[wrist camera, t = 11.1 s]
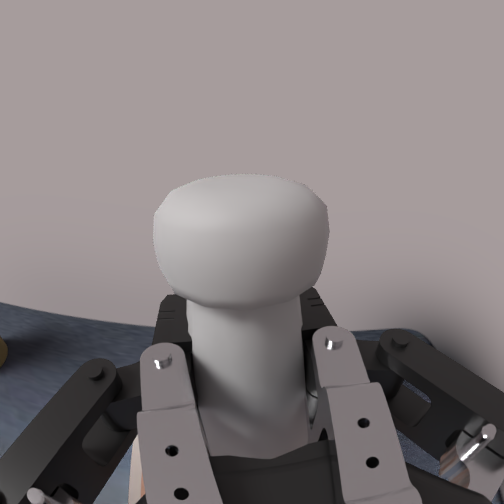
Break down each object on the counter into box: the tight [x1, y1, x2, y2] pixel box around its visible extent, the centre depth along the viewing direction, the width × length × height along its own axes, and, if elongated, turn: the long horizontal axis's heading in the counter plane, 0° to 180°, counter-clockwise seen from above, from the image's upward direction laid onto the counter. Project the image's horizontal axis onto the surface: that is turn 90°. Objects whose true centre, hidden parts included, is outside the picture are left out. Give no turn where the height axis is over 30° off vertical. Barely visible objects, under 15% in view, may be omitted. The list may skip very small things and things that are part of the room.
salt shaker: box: [153, 174, 329, 459], centre depth 9 cm, size 6×6×13 cm
